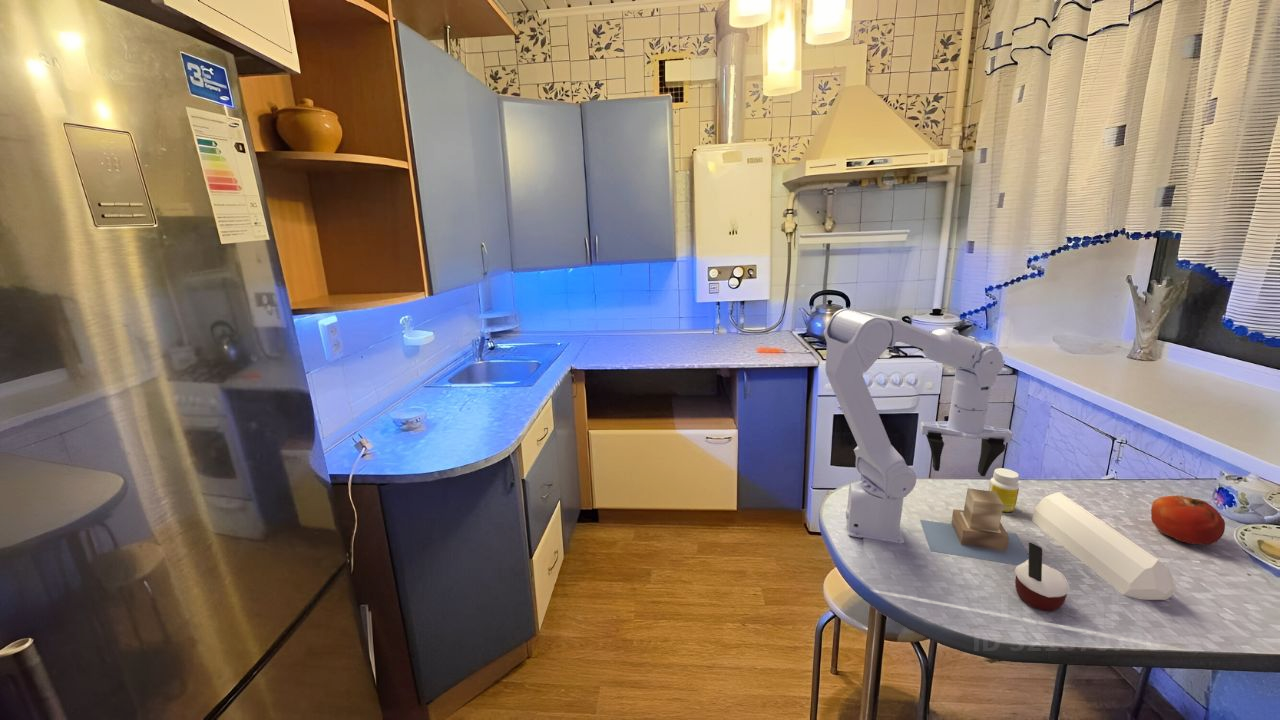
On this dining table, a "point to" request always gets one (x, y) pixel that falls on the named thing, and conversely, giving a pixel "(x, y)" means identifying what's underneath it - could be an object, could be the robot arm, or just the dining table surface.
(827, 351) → the robot arm
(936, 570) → the dining table surface
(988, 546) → the walnut base block
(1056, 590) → the cocoa
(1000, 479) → the supplement bottle
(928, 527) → the board
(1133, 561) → the crystal
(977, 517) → the maple block
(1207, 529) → the tomato
